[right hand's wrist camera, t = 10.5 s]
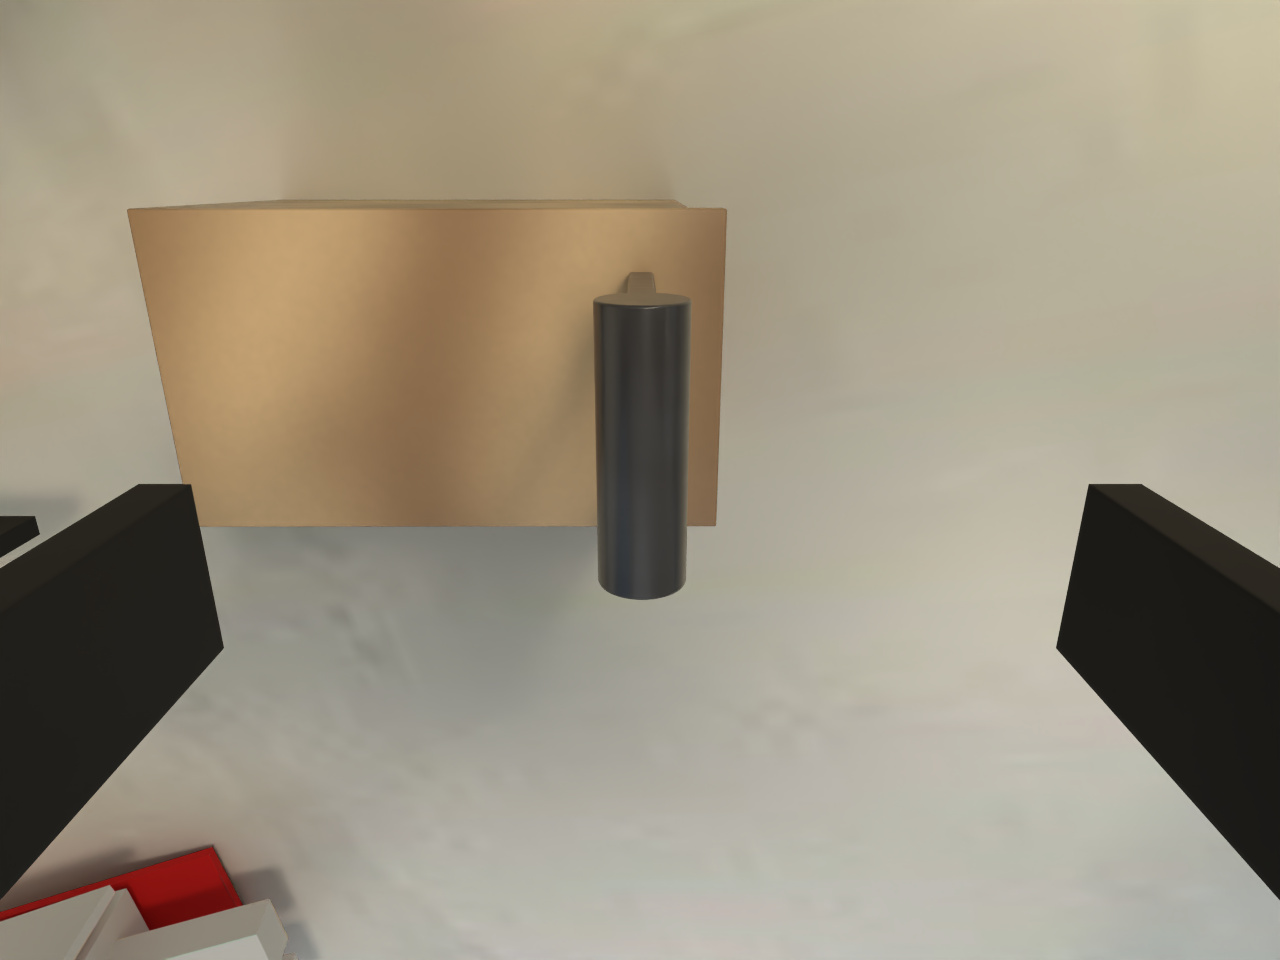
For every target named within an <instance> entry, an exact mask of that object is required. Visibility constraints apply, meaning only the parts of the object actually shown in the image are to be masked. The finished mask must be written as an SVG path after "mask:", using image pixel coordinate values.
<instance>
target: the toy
mask: <svg viewBox="0 0 1280 960" xmlns="http://www.w3.org/2000/svg"><path fill="white" fill-rule="evenodd" d="M287 941H288V936H287V934H286V932H285V930H284V928H283V926H282V923H281V921H280V919H279V917H278V915H277V913H276V911H275V909H274V907H273V904H272V902H271V900H270V898H269V899H265V900H261V901H258V902H254V903H250V904H247V905H243V904H242V902H241V901H240V899H239V897H238V895H237V893H236V891H235V889H234V887H233V885H232V883H231V882H230V880H229V878H228V876H227V874H226V872H225V870H224V868H223V866H222V864H221V863H220V861H219V859H218V857H217V855H216V853H215V851H214V849H213V847H211V848H207V849H204V850H201V851H198V852H194V853H191V854H188V855H185V856H181V857H178V858H175V859H172V860H168V861H165V862H162V863H159V864H155V865H152V866H149V867H146V868H142V869H139V870H136V871H133V872H129V873H126V874H123V875H120V876H116V877H113V878H110V879H107V880H103V881H100V882H97V883H94V884H90V885H87V886H84V887H81V888H77V889H74V890H71V891H68V892H64V893H61V894H58V895H55V896H51V897H48V898H45V899H41V900H38V901H35V902H32V903H28V904H25V905H22V906H19V907H15V908H12V909H9V910H6V911H2V912H0V960H299V959H298V957H297V955H296V953H291V954H287V955H284V956H283V954H284V951H285V948H286V945H287Z"/></svg>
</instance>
